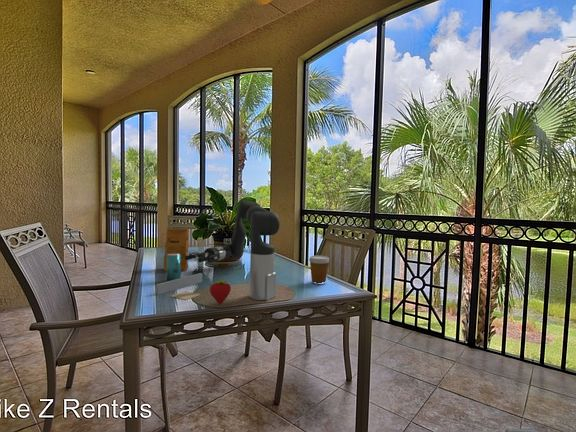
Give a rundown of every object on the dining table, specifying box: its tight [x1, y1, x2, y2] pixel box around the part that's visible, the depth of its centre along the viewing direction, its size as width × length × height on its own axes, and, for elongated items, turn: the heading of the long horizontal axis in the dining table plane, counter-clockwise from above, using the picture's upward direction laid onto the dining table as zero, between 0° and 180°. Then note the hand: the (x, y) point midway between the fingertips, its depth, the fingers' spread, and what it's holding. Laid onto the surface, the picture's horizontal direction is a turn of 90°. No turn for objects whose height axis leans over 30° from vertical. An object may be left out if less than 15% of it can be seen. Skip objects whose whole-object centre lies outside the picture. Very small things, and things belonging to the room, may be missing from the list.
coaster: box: [169, 290, 202, 301], centre depth 126 cm, size 8×8×1 cm
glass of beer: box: [308, 255, 330, 283], centre depth 151 cm, size 10×10×12 cm
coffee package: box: [163, 227, 189, 272], centre depth 170 cm, size 10×12×22 cm
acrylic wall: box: [155, 272, 203, 296], centre depth 137 cm, size 1×24×4 cm, turn 152°
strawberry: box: [209, 276, 232, 305], centre depth 117 cm, size 6×8×10 cm
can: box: [166, 253, 182, 282], centre depth 147 cm, size 6×6×12 cm
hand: (192, 259), depth 157 cm, fingers open, 8 cm apart
